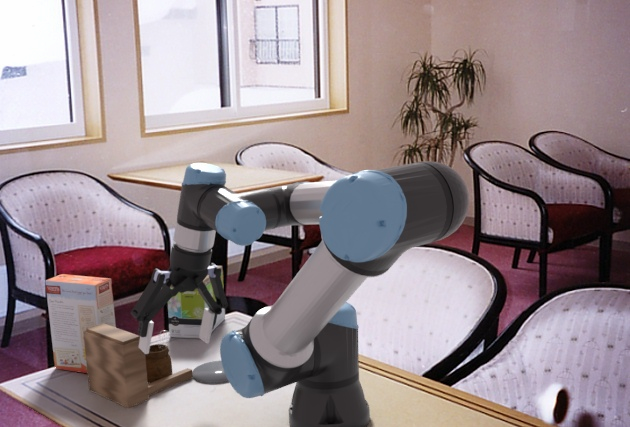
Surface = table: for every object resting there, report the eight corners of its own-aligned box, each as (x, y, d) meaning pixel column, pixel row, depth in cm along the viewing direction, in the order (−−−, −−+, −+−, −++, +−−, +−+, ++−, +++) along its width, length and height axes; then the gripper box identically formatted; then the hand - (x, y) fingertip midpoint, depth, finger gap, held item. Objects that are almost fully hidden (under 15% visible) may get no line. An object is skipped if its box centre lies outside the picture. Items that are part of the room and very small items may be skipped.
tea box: (207, 339, 197) (203, 280, 194) (168, 338, 199) (163, 280, 196) (226, 318, 211) (222, 263, 208) (190, 317, 213) (185, 263, 210)
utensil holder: (170, 384, 172) (166, 330, 169) (140, 385, 172) (135, 331, 169) (175, 373, 177) (170, 320, 175) (146, 374, 178) (141, 321, 175)
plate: (254, 370, 177) (253, 368, 177) (215, 387, 169) (215, 385, 169) (220, 359, 184) (220, 356, 184) (182, 375, 176) (181, 372, 176)
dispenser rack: (197, 379, 174) (192, 318, 171) (128, 408, 161) (122, 343, 158) (157, 364, 183) (152, 306, 180) (89, 390, 170) (82, 328, 168)
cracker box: (121, 367, 182) (112, 277, 178) (103, 377, 177) (94, 285, 172) (72, 359, 188) (62, 272, 184) (54, 369, 183) (43, 279, 178)
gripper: (235, 233, 163) (217, 327, 169) (122, 241, 146) (107, 345, 153) (257, 248, 158) (237, 344, 164) (142, 258, 141) (125, 365, 148)
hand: (174, 345), depth 158 cm, fingers open, 13 cm apart
